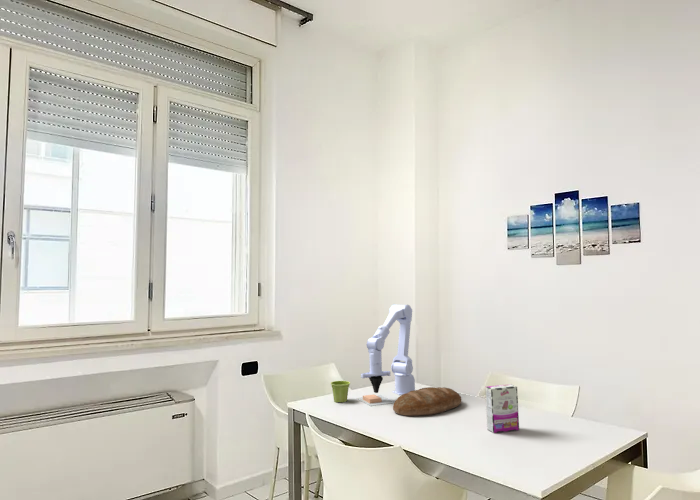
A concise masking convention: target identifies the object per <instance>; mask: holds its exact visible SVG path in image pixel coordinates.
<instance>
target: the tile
mask: <svg viewBox="0 0 700 500" xmlns="http://www.w3.org/2000/svg"><path fill="white" fill-rule="evenodd" d="M378 396H379V395H376V394H366V395H365V394H364V395H362V397H363V400H364V401H366V402H368V403H378V402H382V398H380V397H378Z"/></svg>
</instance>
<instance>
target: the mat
mask: <svg viewBox="0 0 700 500" xmlns="http://www.w3.org/2000/svg"><path fill="white" fill-rule="evenodd" d="M377 396H378V397H380V398H382V402H378V403H368V402H366V401H364V400H363V396H362V397H356V400H359V401H360V402H362V403H364V404H366V405H367V406H369V407H374V406H375V407H376V406H382V405H383V406H384V405H391V404H394V403H395V401H393V400H392V399H389V398H387V396H383V395H381V394H380V395H377Z"/></svg>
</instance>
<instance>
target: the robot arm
mask: <svg viewBox="0 0 700 500" xmlns="http://www.w3.org/2000/svg"><path fill="white" fill-rule="evenodd" d="M412 318H413V309H412V307H411V305H409V304H395V303H393V304H392V305H391V306H390V308H389V309H388V315H387V317H386V319H385V321H384V322H383V324H382V325H379V326H378V327H377V329H376V331H375V332H374V334H373V335H372V337H370V338H368V339H367V342H366V348H367V352H368V356H369V371H367V372H363V373H360V378H361V379H369V381H370V383H371V386H372V389H373V392H374V393H375V394H378V393H379V391H380V386H381V384H382V381H383V380H384V379H383V378H384V377H387V376H388V377H390V376H391V372H392V373H393V376H394V389H395V390H392V391H391V392H392V393H393V394H395V395H398V396H401V395H403V394H405V393H408V392H410V391H414V390H416V384H415V383H416V382H415V377H414V375H413V374H412V373H413V370H414V366H413V360H412V358H411V357H410V356H409V349H410V348H409V347H410V335H411V322H412ZM396 321H397V322H398V323H399V331H398V332H399V333H398V342H397V343H398V344H397V345H398V346H397V354H396V355H395V356H394V357H393V359H392V363H391V365H390V366H391V367H390V370H391V371H389V370H384V371H383V369H382V367H383V366H382V364H383V362H382V350H383V349H384V346H385V342H386V339H387V337H388V336H389V334H390V333H391V332H390V329H391V327H392V326H393V325H394V324H395V322H396Z"/></svg>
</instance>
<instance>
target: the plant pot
mask: <svg viewBox="0 0 700 500" xmlns="http://www.w3.org/2000/svg"><path fill="white" fill-rule="evenodd" d="M350 385H351V382H350V381H348V380H335V381H334V380H333V381H331V382H330V387H331V388H332V395H333V401H334V402H335V401H336V402H335V403H338V402H340V403H345V402H348V396H349V388H350Z"/></svg>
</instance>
